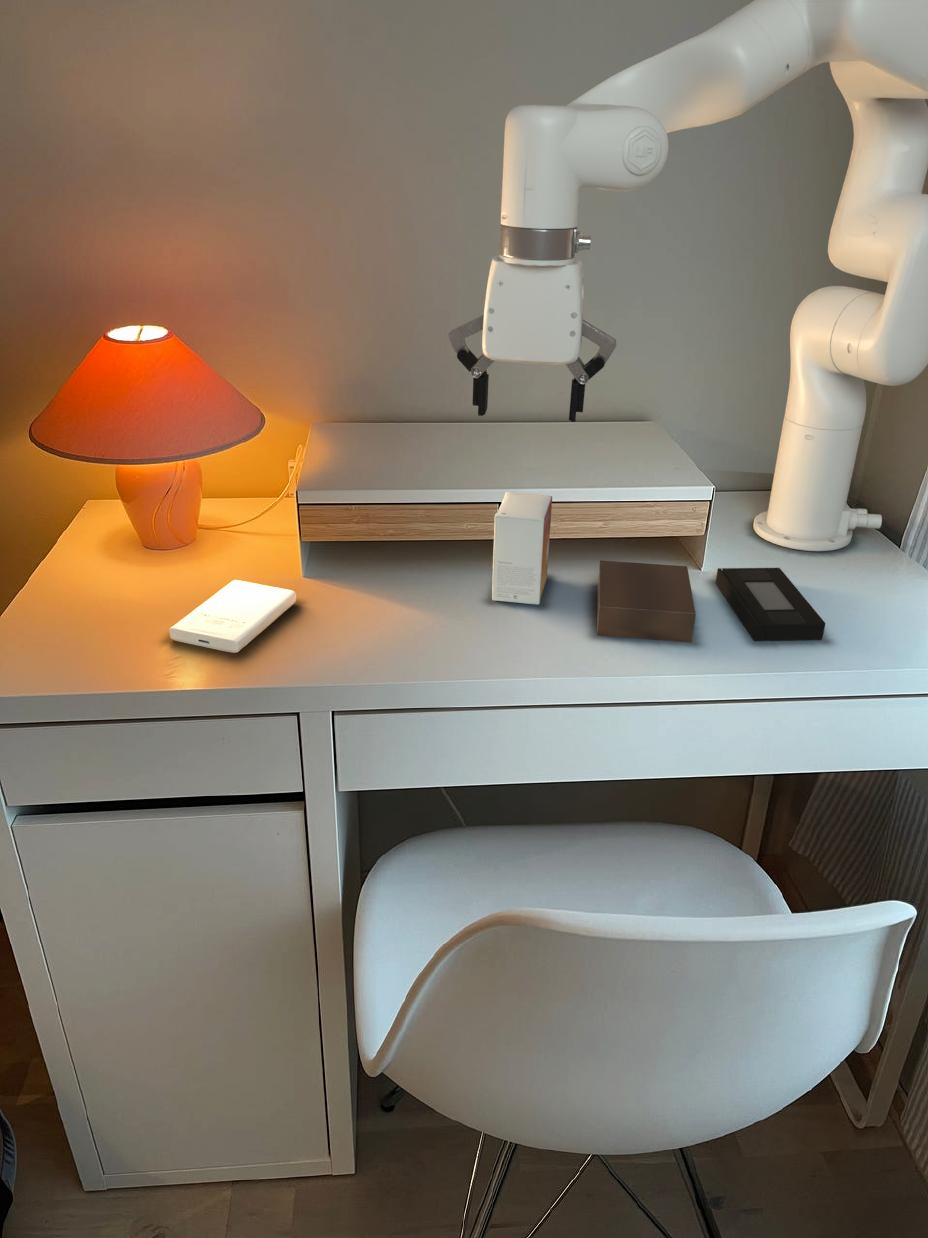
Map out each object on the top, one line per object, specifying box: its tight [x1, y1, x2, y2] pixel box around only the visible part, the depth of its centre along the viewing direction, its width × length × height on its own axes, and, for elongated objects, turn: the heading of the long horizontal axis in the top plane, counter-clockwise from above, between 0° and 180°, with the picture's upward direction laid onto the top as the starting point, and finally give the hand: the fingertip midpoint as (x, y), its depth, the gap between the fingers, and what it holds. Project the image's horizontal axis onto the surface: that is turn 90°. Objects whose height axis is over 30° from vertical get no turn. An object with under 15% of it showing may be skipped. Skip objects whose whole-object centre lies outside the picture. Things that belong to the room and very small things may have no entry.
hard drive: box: [168, 579, 297, 654], centre depth 107 cm, size 2×8×12 cm
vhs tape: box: [715, 567, 826, 642], centre depth 112 cm, size 8×14×2 cm, turn 4°
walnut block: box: [596, 559, 697, 643], centre depth 110 cm, size 10×12×4 cm
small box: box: [491, 491, 553, 606], centre depth 113 cm, size 8×6×10 cm
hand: (527, 415), depth 106 cm, fingers open, 9 cm apart
